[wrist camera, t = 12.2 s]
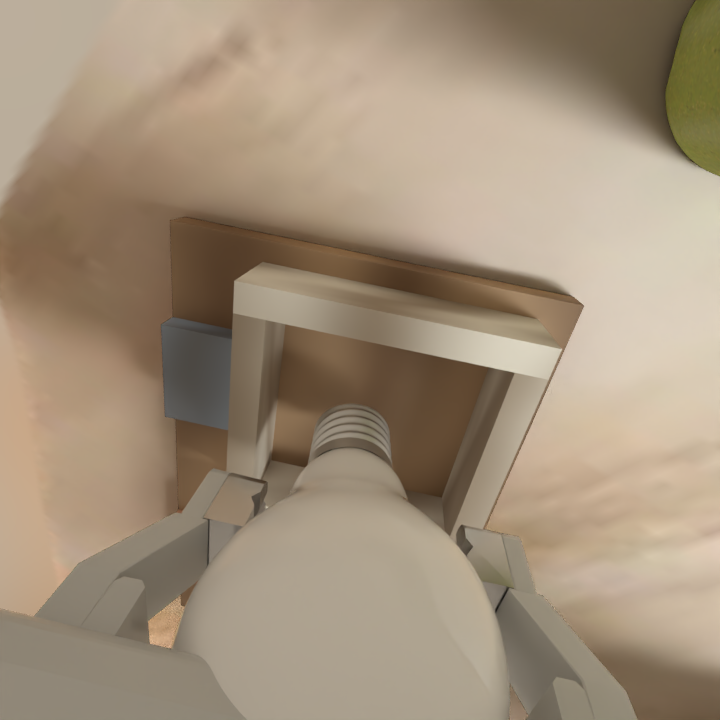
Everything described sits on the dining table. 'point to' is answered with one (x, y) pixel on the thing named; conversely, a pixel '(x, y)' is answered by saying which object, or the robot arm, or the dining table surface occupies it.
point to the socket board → (351, 364)
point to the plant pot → (697, 86)
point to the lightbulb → (348, 599)
